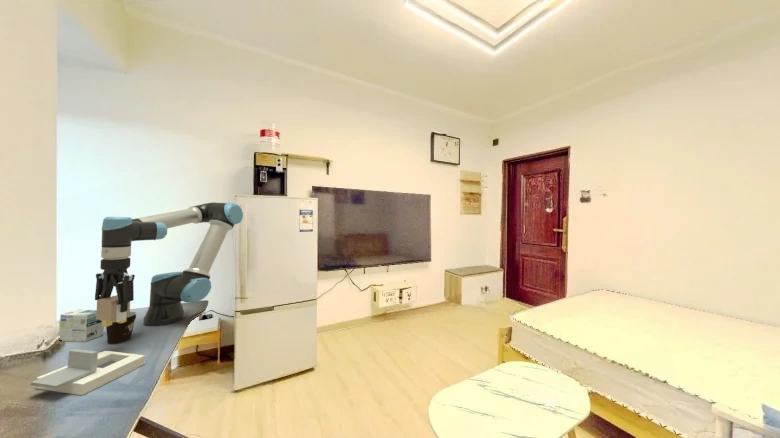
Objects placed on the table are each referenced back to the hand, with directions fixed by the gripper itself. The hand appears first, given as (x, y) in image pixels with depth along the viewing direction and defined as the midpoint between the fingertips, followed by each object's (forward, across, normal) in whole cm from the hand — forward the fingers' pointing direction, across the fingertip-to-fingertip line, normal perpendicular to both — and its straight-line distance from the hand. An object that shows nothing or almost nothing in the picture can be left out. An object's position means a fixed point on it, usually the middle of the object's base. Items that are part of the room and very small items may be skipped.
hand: (113, 319), depth 93 cm
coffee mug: (+12, -7, +9) cm, 17 cm away
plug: (+1, 0, 0) cm, 1 cm away
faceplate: (+11, +12, -13) cm, 21 cm away
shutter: (+8, +12, -20) cm, 24 cm away
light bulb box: (+12, -23, +6) cm, 27 cm away
